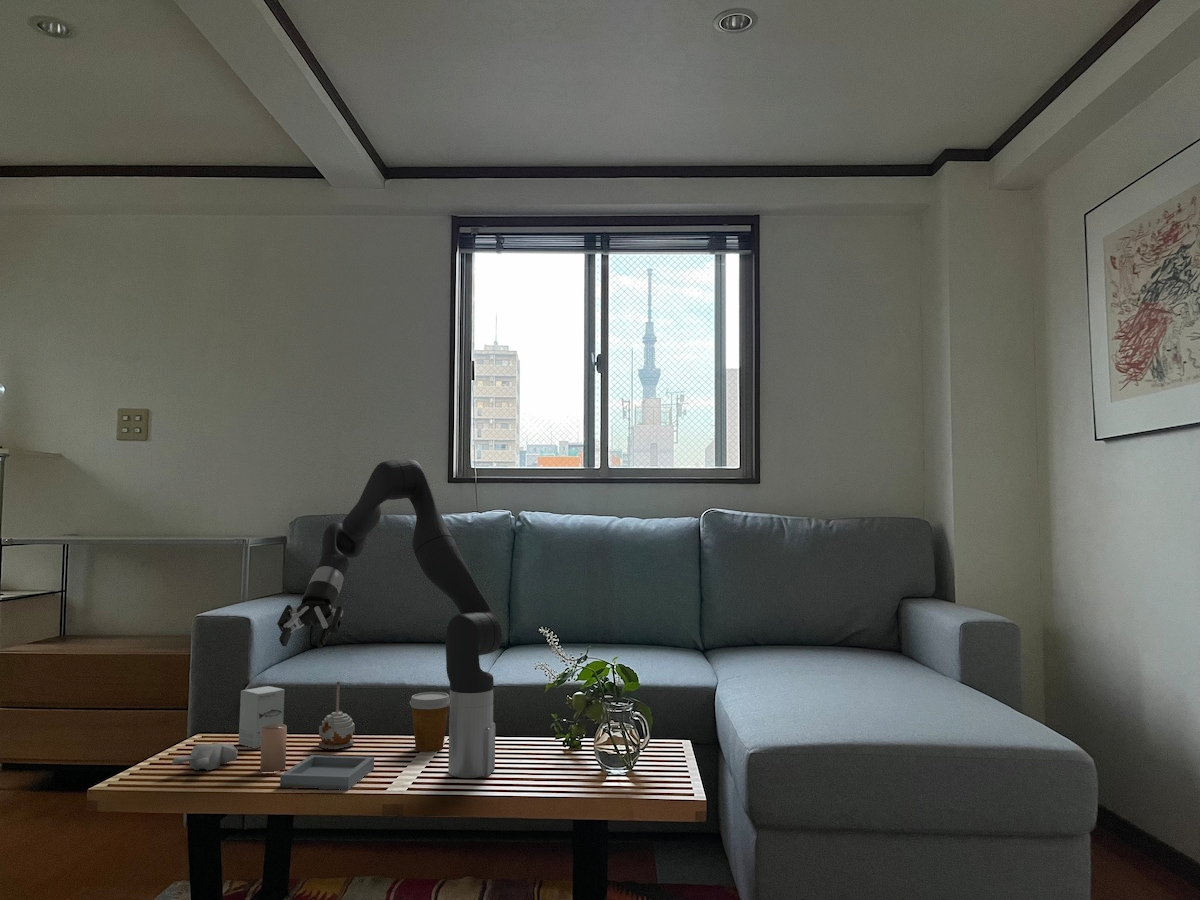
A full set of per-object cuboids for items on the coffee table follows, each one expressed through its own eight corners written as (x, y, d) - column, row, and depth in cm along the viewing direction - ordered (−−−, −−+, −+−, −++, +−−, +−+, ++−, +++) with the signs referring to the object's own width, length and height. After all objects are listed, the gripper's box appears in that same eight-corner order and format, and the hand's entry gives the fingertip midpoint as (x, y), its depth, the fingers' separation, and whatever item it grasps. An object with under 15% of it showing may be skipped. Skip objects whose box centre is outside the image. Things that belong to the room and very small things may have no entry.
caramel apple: (317, 744, 198) (319, 679, 199) (351, 741, 201) (352, 677, 202) (320, 752, 191) (322, 685, 192) (355, 749, 194) (357, 683, 195)
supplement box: (254, 749, 193) (256, 693, 194) (237, 744, 198) (239, 689, 199) (283, 742, 199) (285, 688, 200) (266, 737, 203) (268, 684, 204)
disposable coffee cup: (453, 751, 192) (454, 698, 193) (412, 755, 188) (413, 701, 189) (445, 741, 201) (446, 690, 202) (405, 745, 197) (406, 693, 198)
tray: (373, 769, 178) (374, 757, 178) (348, 790, 164) (348, 777, 165) (310, 767, 180) (311, 755, 180) (280, 787, 166) (280, 774, 166)
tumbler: (289, 767, 179) (290, 724, 180) (278, 774, 174) (280, 730, 175) (267, 766, 180) (268, 723, 181) (255, 773, 175) (257, 729, 176)
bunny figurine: (248, 740, 186) (210, 750, 172) (246, 764, 185) (207, 776, 171) (208, 739, 187) (167, 748, 173) (206, 763, 186) (164, 775, 172)
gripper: (290, 579, 201) (265, 633, 189) (348, 580, 200) (326, 635, 188) (299, 599, 206) (275, 653, 194) (355, 600, 205) (335, 655, 192)
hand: (300, 644), depth 191 cm, fingers open, 8 cm apart
